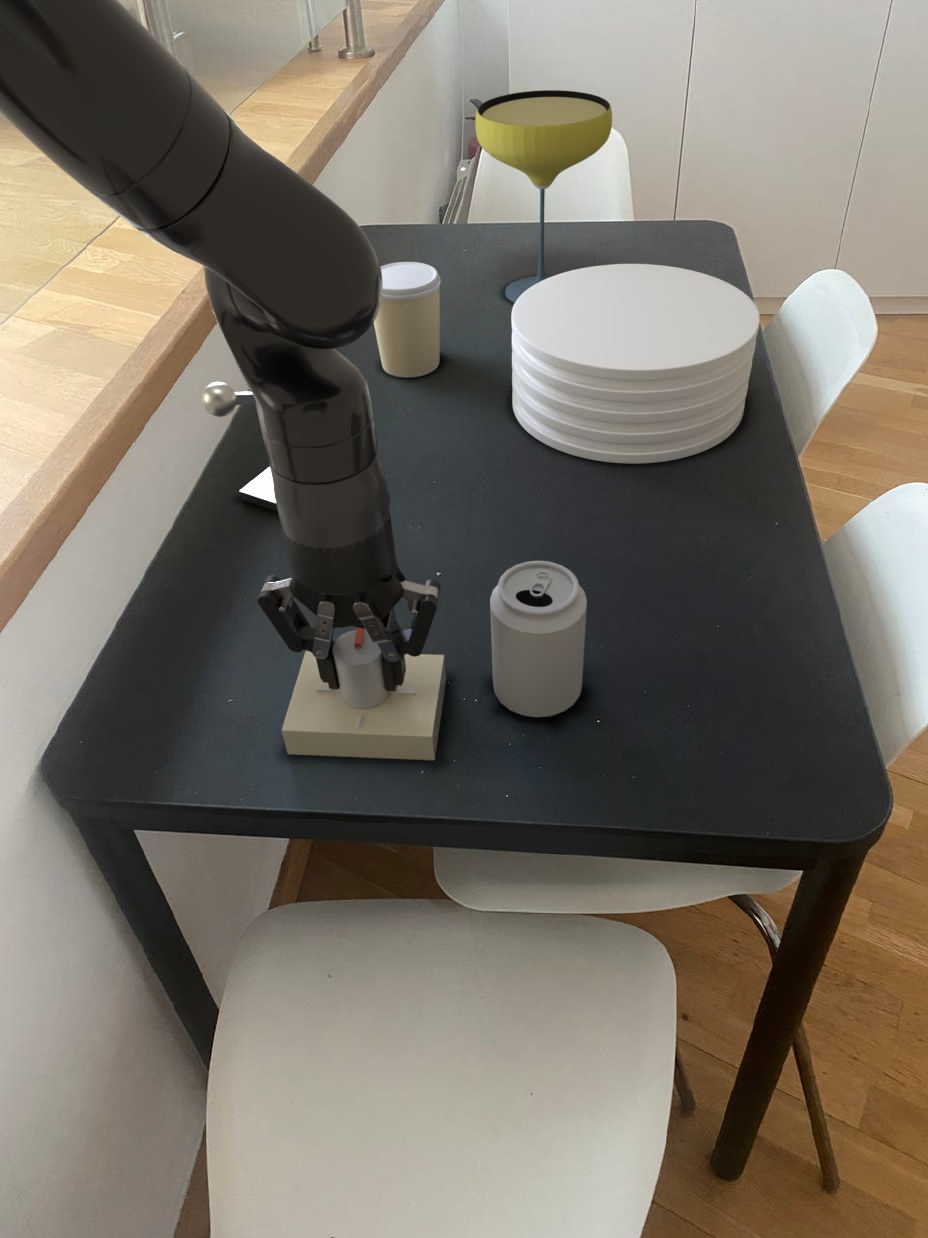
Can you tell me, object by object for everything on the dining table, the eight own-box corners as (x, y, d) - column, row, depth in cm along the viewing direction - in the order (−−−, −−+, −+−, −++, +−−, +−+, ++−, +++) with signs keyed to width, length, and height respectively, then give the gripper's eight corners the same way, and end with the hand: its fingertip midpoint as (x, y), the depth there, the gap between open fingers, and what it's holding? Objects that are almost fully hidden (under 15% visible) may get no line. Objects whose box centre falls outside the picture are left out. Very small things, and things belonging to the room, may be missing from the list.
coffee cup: (449, 347, 126) (444, 260, 118) (441, 381, 119) (435, 290, 111) (382, 347, 127) (372, 260, 119) (370, 380, 120) (359, 290, 112)
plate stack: (656, 493, 99) (668, 397, 91) (465, 410, 113) (461, 321, 105) (786, 391, 113) (805, 301, 105) (602, 329, 128) (607, 246, 120)
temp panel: (287, 754, 74) (280, 729, 72) (311, 674, 81) (305, 648, 79) (434, 760, 73) (432, 735, 71) (446, 679, 80) (444, 653, 78)
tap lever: (219, 420, 86) (221, 386, 84) (193, 413, 87) (195, 378, 86) (305, 414, 97) (308, 383, 95) (281, 407, 98) (284, 377, 97)
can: (480, 710, 77) (474, 603, 69) (510, 651, 82) (509, 545, 74) (566, 734, 75) (571, 626, 66) (592, 671, 80) (599, 564, 71)
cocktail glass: (457, 290, 140) (447, 107, 123) (548, 258, 147) (551, 82, 130) (533, 330, 129) (534, 135, 112) (627, 293, 136) (642, 106, 119)
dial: (387, 708, 73) (380, 662, 70) (338, 709, 74) (328, 662, 70) (391, 672, 76) (385, 626, 73) (344, 673, 76) (335, 626, 73)
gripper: (218, 542, 61) (268, 714, 73) (430, 546, 60) (447, 721, 71) (248, 478, 66) (290, 648, 78) (443, 480, 65) (457, 653, 77)
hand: (365, 682), depth 75 cm, fingers closed on dial, 4 cm apart
